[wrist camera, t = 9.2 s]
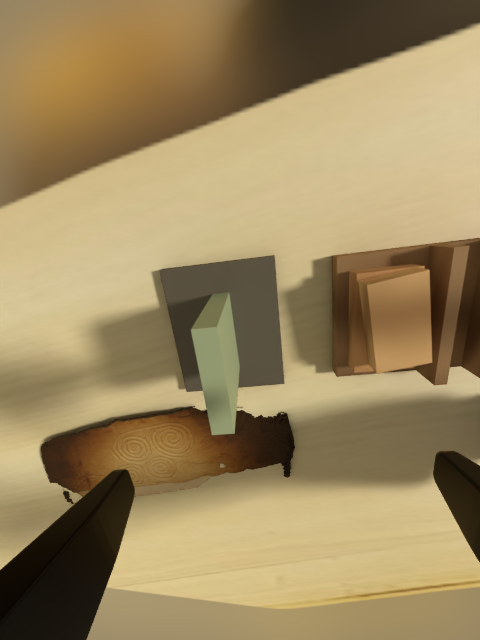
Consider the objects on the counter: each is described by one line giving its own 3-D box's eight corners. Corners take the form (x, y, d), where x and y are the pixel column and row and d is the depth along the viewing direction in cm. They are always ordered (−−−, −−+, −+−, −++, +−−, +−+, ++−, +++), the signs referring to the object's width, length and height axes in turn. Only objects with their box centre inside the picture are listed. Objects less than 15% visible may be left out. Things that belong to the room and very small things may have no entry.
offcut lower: (403, 359, 19) (413, 367, 17) (347, 364, 19) (354, 372, 18) (412, 263, 16) (424, 266, 15) (349, 271, 17) (356, 273, 16)
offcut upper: (419, 353, 17) (432, 362, 16) (368, 364, 17) (376, 373, 16) (415, 266, 15) (429, 269, 14) (358, 281, 16) (367, 284, 14)
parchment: (67, 502, 27) (61, 511, 26) (21, 431, 24) (13, 438, 23) (298, 470, 25) (300, 478, 24) (282, 386, 21) (284, 392, 21)
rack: (464, 358, 19) (508, 384, 16) (332, 369, 20) (349, 396, 17) (486, 237, 17) (545, 238, 13) (332, 255, 17) (351, 260, 14)
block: (239, 366, 20) (234, 433, 13) (224, 367, 20) (211, 435, 13) (229, 292, 18) (216, 326, 11) (212, 294, 18) (190, 329, 11)
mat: (283, 379, 21) (284, 383, 20) (188, 387, 21) (186, 391, 21) (273, 255, 18) (274, 256, 17) (162, 269, 18) (159, 270, 18)
